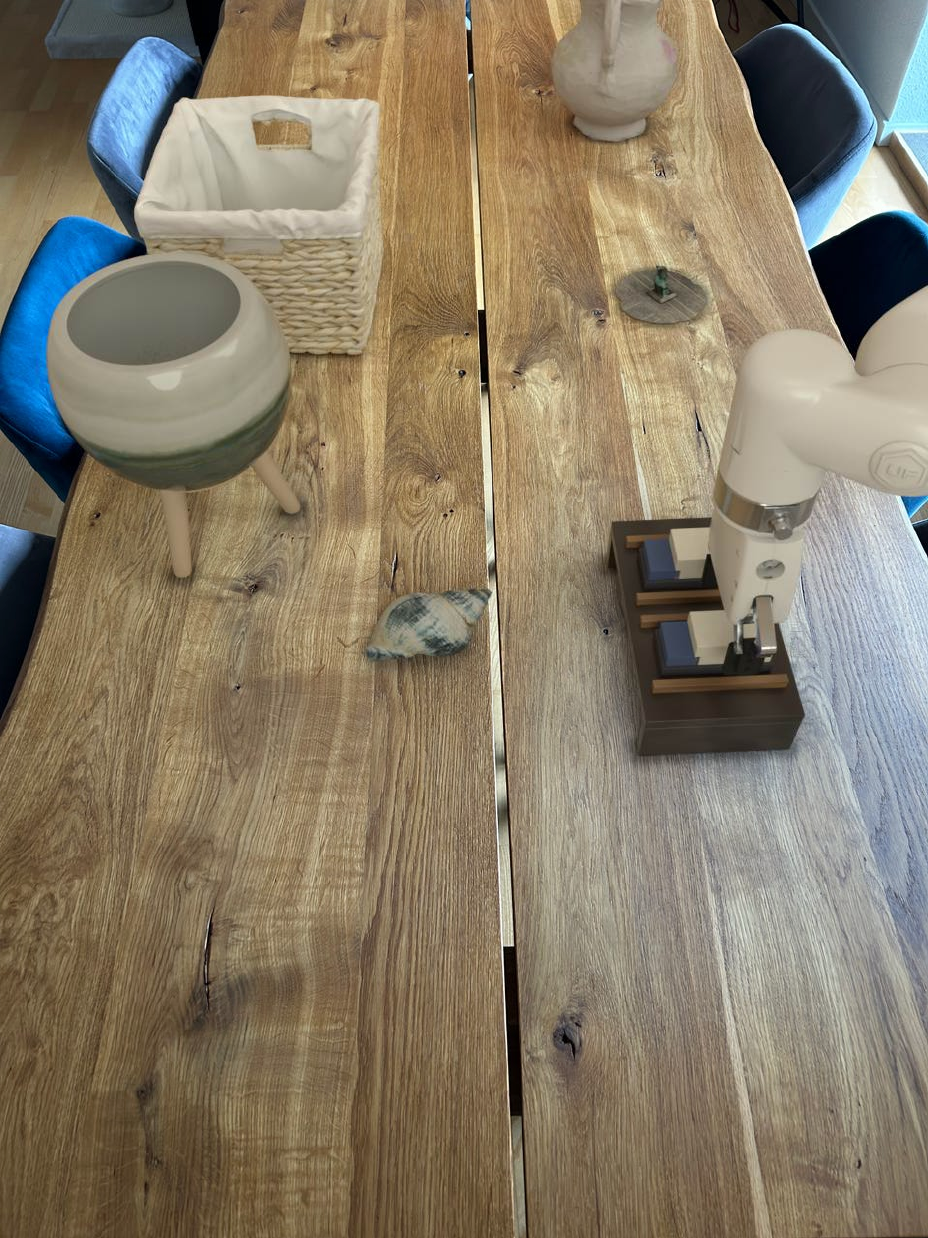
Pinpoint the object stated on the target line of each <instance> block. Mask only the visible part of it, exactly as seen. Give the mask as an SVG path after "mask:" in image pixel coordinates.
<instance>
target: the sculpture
mask: <svg viewBox="0 0 928 1238" xmlns="http://www.w3.org/2000/svg"><path fill="white" fill-rule="evenodd" d="M655 268H656V269H646V270H645V269H644V270H640V271H636V272H634V273H633V274H632V275H627V276H625V277H624V278H623V279H622V280H620V283H619V284H618V286H617V287H616V289H615V295H616V297H617V298H618V299H620V300H621V301H622V302H621V303H620V309H621V310H622V311H623V312H625V313H626V314H627V315H628V316H630V317H632V318H633V319H637V320H641V321H646V322H649V323H654V324H658V325H662V324H676V323H680V322H687V321H690V320H692V319H694V318H696V317H697V316H698V315H699V314H700V312H702V311H703V309H704V307H705V306H706V304H707V295H706V292H705V291H704V288H703V287H702V286H701V285H699V284H696V283H694V282H693V281H692V280H691V279H690V278H688V277H687V276H685V275H683V274H682V273H679V272H675V271H672V270H668V268H666V265H664V266H663V265H660V266H659V265H656V266H655Z"/></svg>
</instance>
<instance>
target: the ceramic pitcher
mask: <svg viewBox="0 0 928 1238" xmlns="http://www.w3.org/2000/svg"><path fill="white" fill-rule="evenodd" d="M661 2H662V0H579V4H580V17H579V20H578V22H577V24H576V25H575V26H574V27H572V28H571V29H570V30H569V31H568V32H567V33H566V34H565V35H563V36H562V37H561V38H560V39H559V41H558V42H557V45H556V46H555V48H554V50H553V54H552V59H551V76H552V81H553V86H554V89H555V92H556V94H557V97H558V99H559V100H560V102H561V104H562V105H563V107H564V108H565V109H566V110H567V111H568V112H570V113H571V114H573V116H574V118H573V120H572V122H571V124H573V126H574V127H576V129H577V130H579V132H580V133H581V134H583V135H585V136H587V137H588V138H589V139H591V140H593V141H605V142H614V143H615V142H617V143H618V142H619V143H620V142H624V141H626V140H628V139H632V138H635V137H638V136H640V135H643V134H644V131H645V129H646V127H647V126H646V125H647V122H646V118H648V117H649V116H651V115H652V114H654V113H655V112H656V111H658V110H659V108H660V107H661V106H662V105H663V104H664V103H665V101H666V100H667V98H668V97H669V95H670V94H671V91H672V89H673V88H674V85H675V82H676V79H677V78H676V77H677V72H678V62H679V61H678V58H679V57H678V56H679V53H678V50H677V48H676V45H675V43H674V41H673V39H672V37H670V36H669V35H668V34H667V33H666V32H664V31H663V30H662V29H661V28H660V27H659V26H658V24H657V16H658V11H659V7H660V5H661Z"/></svg>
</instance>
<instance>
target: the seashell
mask: <svg viewBox="0 0 928 1238" xmlns="http://www.w3.org/2000/svg"><path fill="white" fill-rule="evenodd" d="M492 594H493V591H492V590H490V589H489V588H485V589H484V588H482V589H477V588H469V589H466V590H464V589H458V590H456V589H452V590H446V591H443V592H442V593H440V594H437V593H433V592H412V593H407V594H404V595H401V596H399V597H397V598H395V599H394V600H393V601H392V602H391V603H389V604H388V606H387V607H386V608H385V609H384V610H383V612H382V614H381V615H380V617H379V618H378V620H377V622H376V624H375V626H374V628H373V630H372V632H371V637H370V643H369V645H367V647H365V649H364V651H365V656H366V658H367V659H368V660H369V661H371V662H375V663H376V662H380V661H385V660H387V659H388V660H389V659H390V660H405V659H408V658H412V657H414V656H415V655H417V654H420V655H426V656H431V657H438V658H444V657H451V656H454V655H457V654H459V653H460V652H462V651H463V650H464V649H466V647H467V646H468V644H469V643H470V641H471V638H472V636H473V632H474V627H475V625H476V623H478V622H479V621H480V620H481V618H482V617H483V615H484V612H485V608H486V607H487V605H488V603H489V600H490V598H491V596H492Z"/></svg>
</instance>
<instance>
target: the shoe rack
mask: <svg viewBox="0 0 928 1238" xmlns="http://www.w3.org/2000/svg"><path fill="white" fill-rule="evenodd" d="M711 519H712V516H707V517H685V518H663V519H661V518H660V519H658V518H657V519H640V520H639V519H638V520H614V521H611V522H610V528H609V535H608V541H607V542H608V543H607V552H606V558H605V561H606V562H605V563H606V567H607V569H614V568H615V569H616V570H617V577H618V582H619V583H618V584H619V588H620V594H621V599H622V605H623V612H624V617H625V624H626V628H627V634H628V641H629V646H630V652H631V658H632V659H631V660H632V664H633V671H634V676H635V681H636V687H637V694H638V699H639V705H640V710H641V717H642V719H641V723H640V728H639V733H638V737H637V742H636V750H637V756H638V757H651V756H672V755H675V756H676V755H691V754H692V755H696V754H718V753H741V752H760V751H782V750H783V751H785V750H786V751H787V750H790V748H791V746H792V745H793V742H794V740H795V738H796V735H797V733H798V731H799V729H800V727H801V725H802V723H803V721H804V718H805V716H806V714H805V710H804V707H803V702H802V700H801V696H800V692H799V689H798V685H797V682H796V680H795V679H796V678H795V675H794V671H793V667H792V665H791V661H790V657H789V654H788V651H787V648H786V644H785V641H784V636H783V633H782V630H781V627H780V626H781V625H780V623H775V624H774V626H775V635H776V643H777V651H776V653H775V654H773V655H772V660H773V663H774V665H773V667H772V670H771V672H759V673H757V674H752V675H749V676H739V675H724V674H705V675H683V676H661V674H660V669H659V663H658V658H657V653H656V648H655V642H654V632H655V629H659V628H660V624H661V622H678V621H687V620H688V616H689V612H694V611H717V610H724V606H723V603H722V599H721V595H720V591H719V587H712V588H686V589H663V590H644V586H643V581H642V576H641V570H640V565H639V560H638V551H639V548H643V544H644V540H656V539H669V536H670V531H671V529H686V528H709V527H710V524H711ZM751 609H753V606H752V607H751Z"/></svg>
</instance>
